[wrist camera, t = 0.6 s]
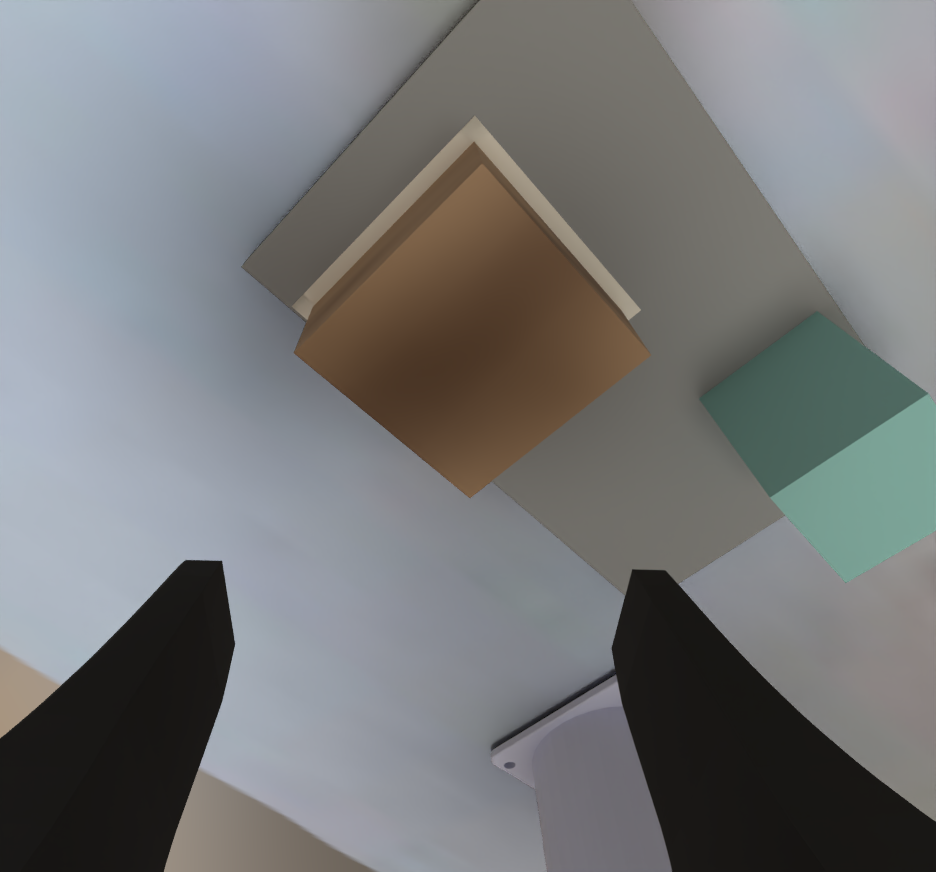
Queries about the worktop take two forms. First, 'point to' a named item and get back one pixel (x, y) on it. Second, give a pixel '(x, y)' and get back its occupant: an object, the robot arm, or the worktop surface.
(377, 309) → the walnut slab
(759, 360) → the teal block
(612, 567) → the build mat
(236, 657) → the worktop surface
